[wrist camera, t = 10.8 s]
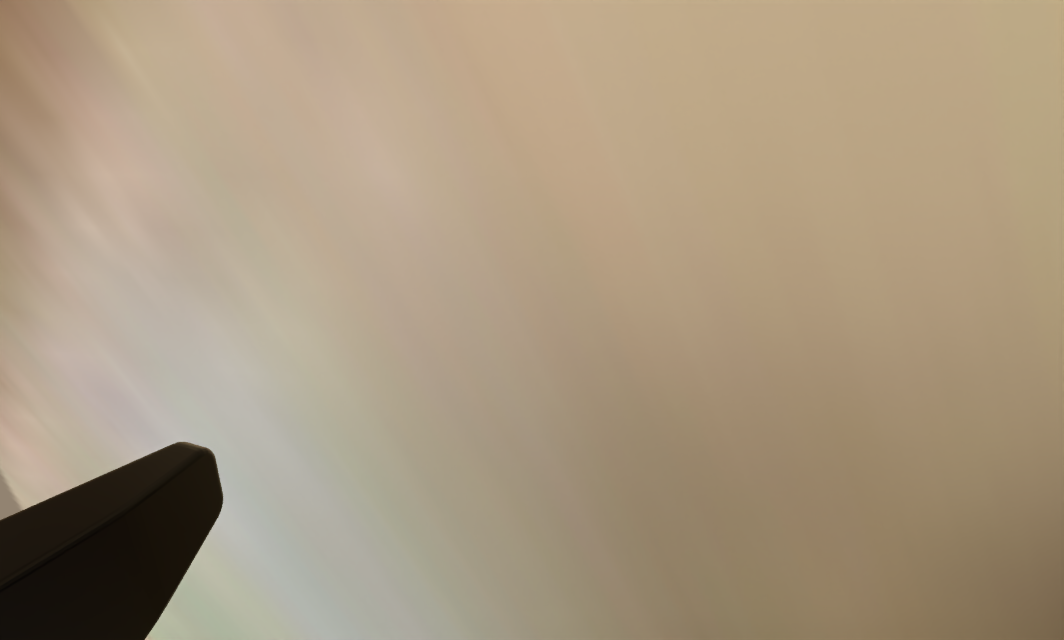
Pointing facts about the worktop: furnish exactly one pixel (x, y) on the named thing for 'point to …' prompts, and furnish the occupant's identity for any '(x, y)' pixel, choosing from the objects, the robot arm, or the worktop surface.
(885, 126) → the worktop surface
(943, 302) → the worktop surface
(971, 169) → the worktop surface
